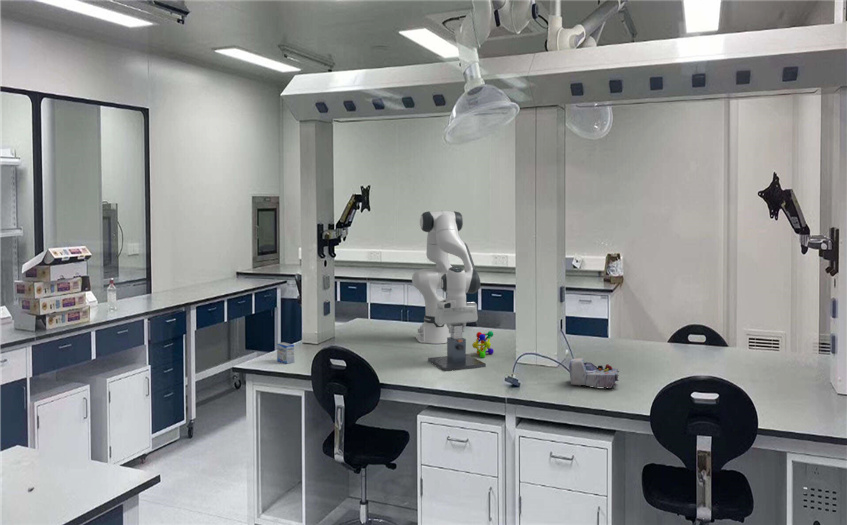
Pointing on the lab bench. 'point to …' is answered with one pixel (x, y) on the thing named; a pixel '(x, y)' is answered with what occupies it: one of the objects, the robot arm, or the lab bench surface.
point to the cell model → (592, 374)
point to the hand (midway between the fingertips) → (456, 332)
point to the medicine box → (285, 353)
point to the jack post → (456, 331)
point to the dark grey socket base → (456, 357)
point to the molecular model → (483, 344)
